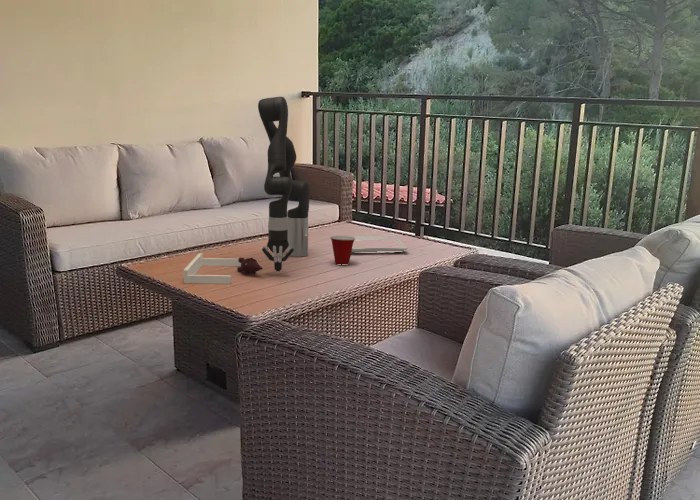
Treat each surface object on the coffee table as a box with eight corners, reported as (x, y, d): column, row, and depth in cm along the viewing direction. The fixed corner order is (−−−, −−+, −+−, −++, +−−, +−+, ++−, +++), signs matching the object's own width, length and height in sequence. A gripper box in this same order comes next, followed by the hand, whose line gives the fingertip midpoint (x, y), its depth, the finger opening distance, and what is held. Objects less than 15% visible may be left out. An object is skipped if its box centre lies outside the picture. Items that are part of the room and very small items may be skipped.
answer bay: (241, 265, 263) (241, 253, 262) (231, 284, 237) (230, 271, 235) (199, 264, 263) (198, 253, 262) (183, 283, 236) (183, 270, 235)
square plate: (408, 255, 290) (408, 247, 289) (349, 256, 285) (349, 248, 284) (394, 242, 316) (394, 235, 315) (340, 243, 311) (340, 235, 310)
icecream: (270, 260, 248) (246, 256, 258) (255, 258, 242) (232, 255, 252) (268, 277, 247) (244, 273, 258) (253, 276, 242) (229, 272, 252)
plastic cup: (359, 262, 273) (359, 235, 270) (348, 268, 264) (349, 240, 261) (336, 259, 278) (337, 232, 275) (325, 264, 268) (325, 237, 265)
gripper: (295, 226, 250) (295, 269, 254) (262, 225, 250) (262, 268, 253) (294, 230, 243) (294, 273, 246) (259, 229, 242) (260, 273, 246)
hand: (278, 271), depth 250 cm, fingers closed
